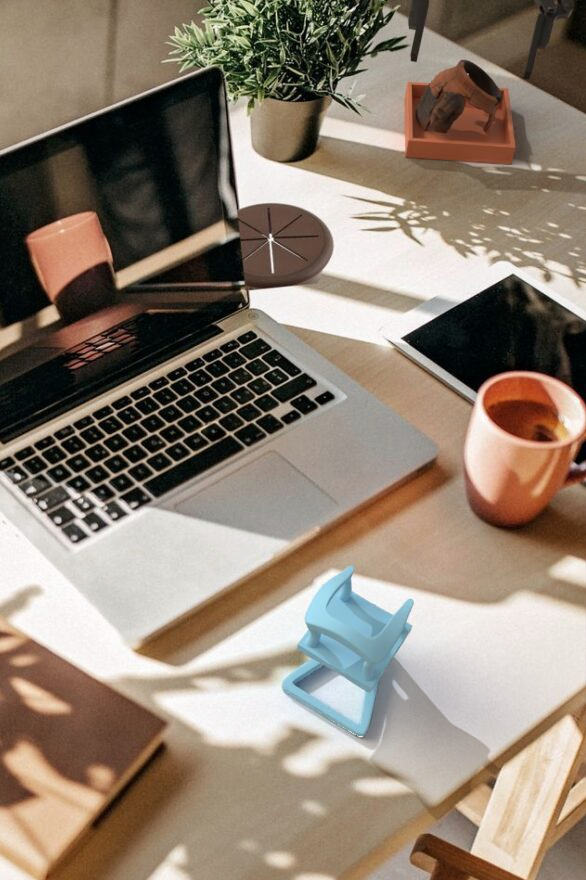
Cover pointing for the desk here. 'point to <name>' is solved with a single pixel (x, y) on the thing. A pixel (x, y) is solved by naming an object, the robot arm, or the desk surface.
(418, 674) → the desk surface
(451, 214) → the desk surface
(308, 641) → the chair
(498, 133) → the terracotta tray
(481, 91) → the broken clay pot
